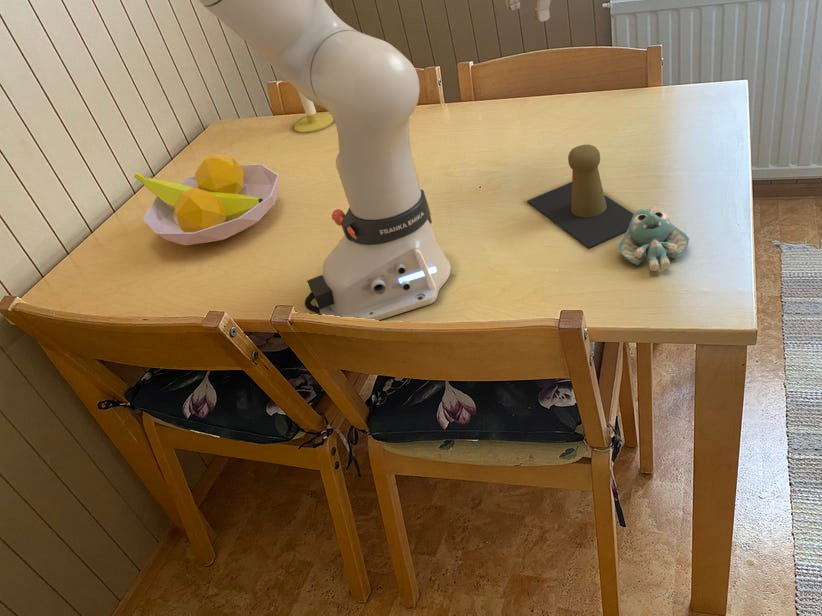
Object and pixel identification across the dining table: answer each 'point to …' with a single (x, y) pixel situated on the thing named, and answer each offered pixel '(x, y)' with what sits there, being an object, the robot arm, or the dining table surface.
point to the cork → (586, 182)
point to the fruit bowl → (211, 201)
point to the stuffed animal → (652, 239)
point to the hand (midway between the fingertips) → (528, 14)
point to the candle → (312, 118)
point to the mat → (581, 228)
